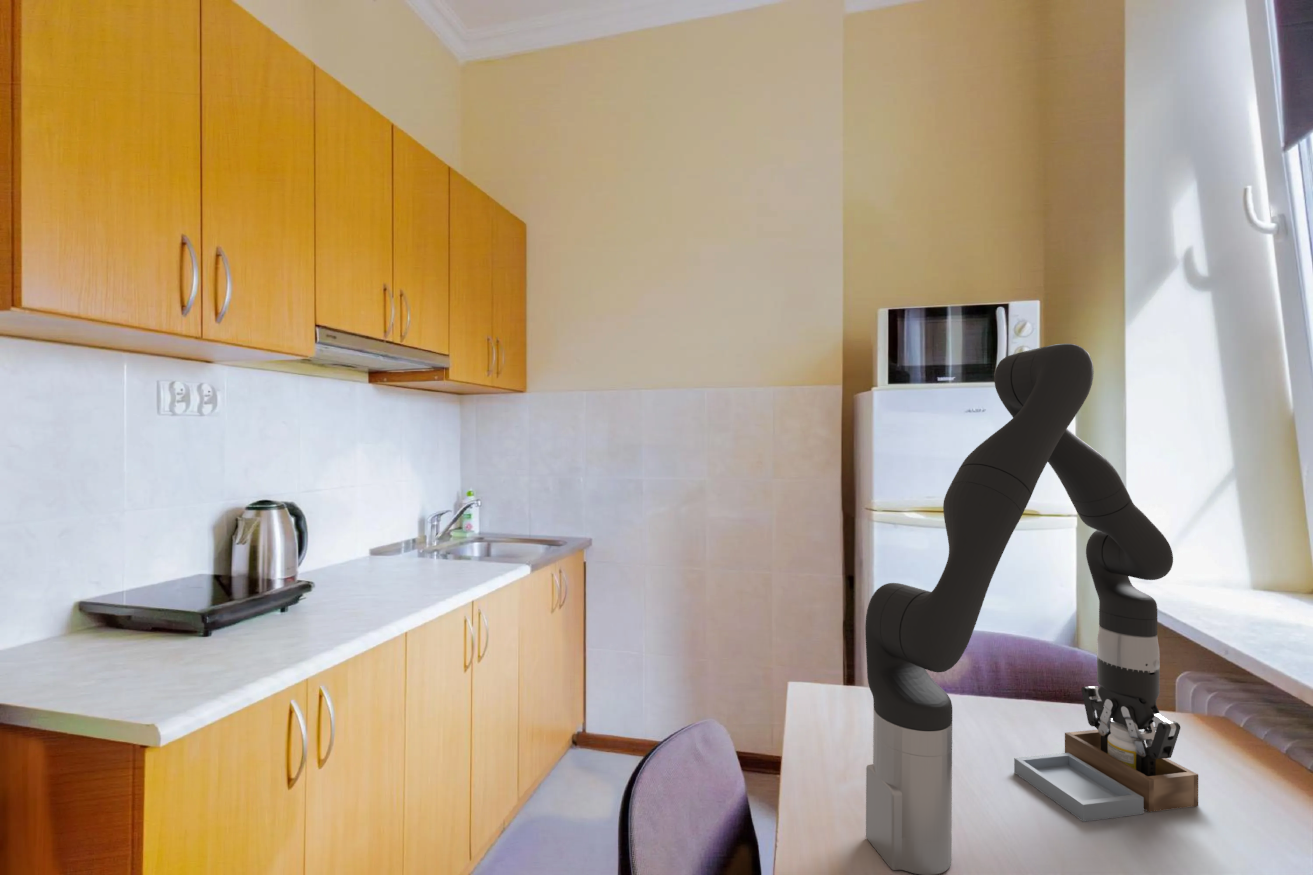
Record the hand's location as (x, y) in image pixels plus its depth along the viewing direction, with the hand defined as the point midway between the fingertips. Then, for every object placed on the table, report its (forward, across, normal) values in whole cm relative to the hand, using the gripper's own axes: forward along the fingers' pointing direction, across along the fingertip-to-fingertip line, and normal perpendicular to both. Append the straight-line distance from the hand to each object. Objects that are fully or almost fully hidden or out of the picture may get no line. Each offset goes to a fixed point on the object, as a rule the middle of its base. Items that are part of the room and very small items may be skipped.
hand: (1127, 769), depth 89 cm
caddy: (+2, 0, 0) cm, 2 cm away
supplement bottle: (+2, 0, 0) cm, 2 cm away
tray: (+2, +1, -10) cm, 11 cm away
